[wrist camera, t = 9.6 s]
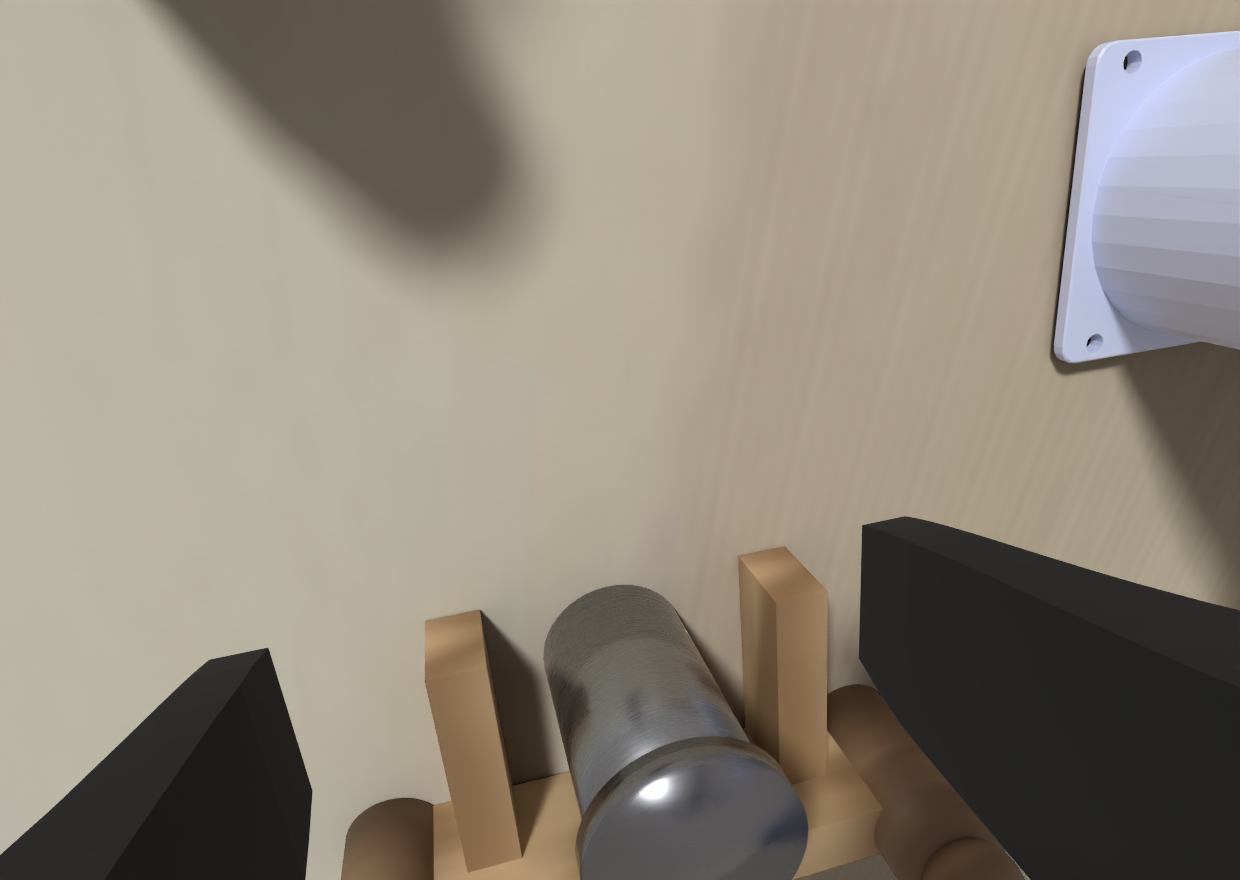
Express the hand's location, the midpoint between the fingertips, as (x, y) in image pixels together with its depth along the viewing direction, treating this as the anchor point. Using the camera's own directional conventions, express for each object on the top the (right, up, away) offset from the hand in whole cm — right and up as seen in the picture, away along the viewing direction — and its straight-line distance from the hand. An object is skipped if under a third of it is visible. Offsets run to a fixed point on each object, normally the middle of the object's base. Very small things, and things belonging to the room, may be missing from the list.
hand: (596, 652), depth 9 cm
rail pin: (0, -3, +12) cm, 12 cm away
